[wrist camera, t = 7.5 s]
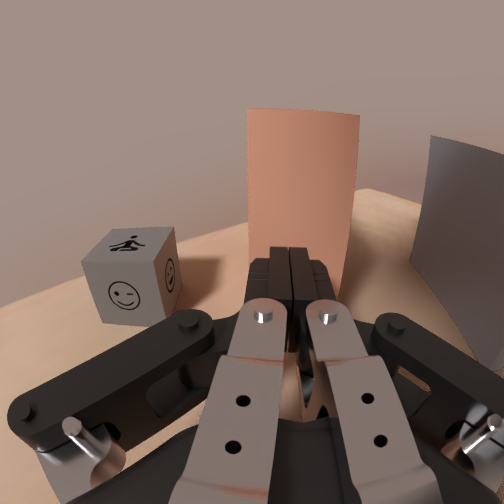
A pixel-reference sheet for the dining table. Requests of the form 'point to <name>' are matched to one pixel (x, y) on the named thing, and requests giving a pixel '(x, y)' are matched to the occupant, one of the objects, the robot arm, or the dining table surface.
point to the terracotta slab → (302, 183)
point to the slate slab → (465, 242)
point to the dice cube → (134, 275)
